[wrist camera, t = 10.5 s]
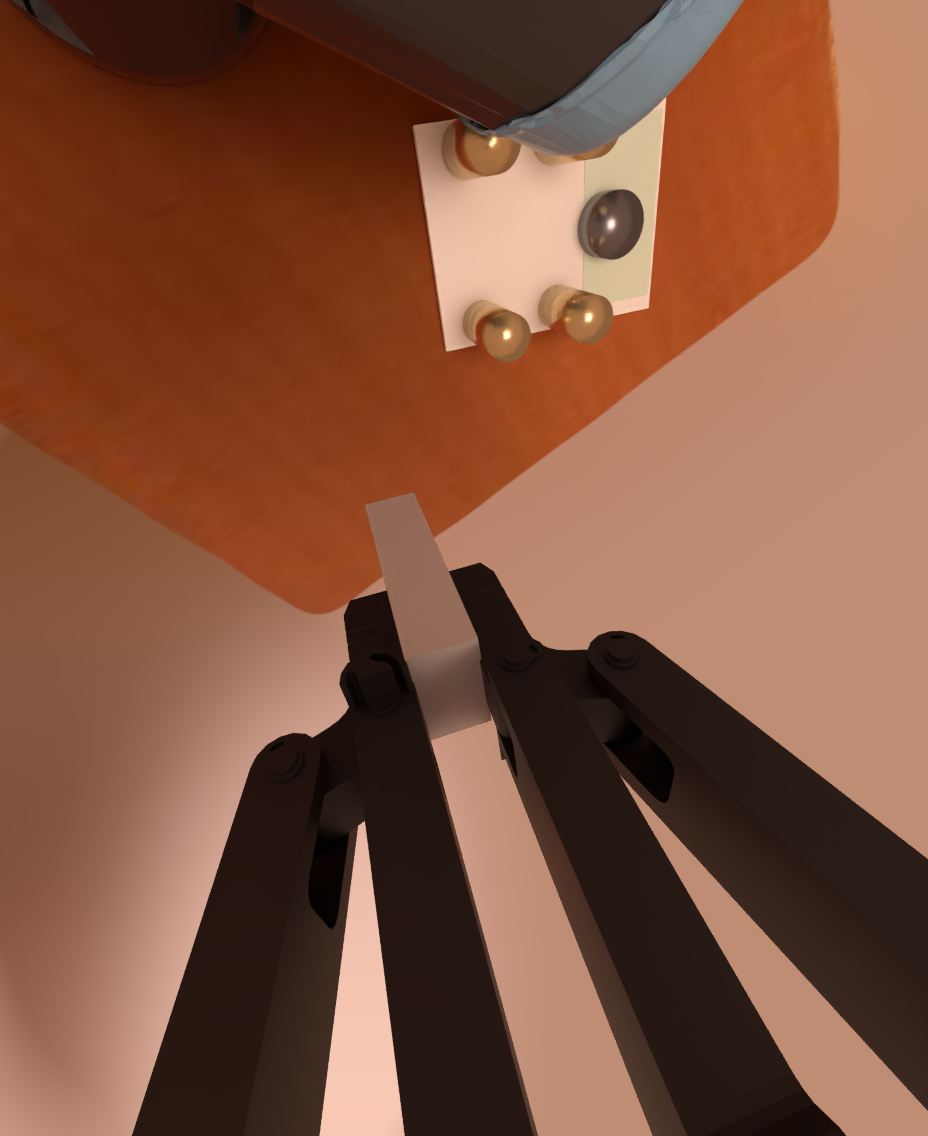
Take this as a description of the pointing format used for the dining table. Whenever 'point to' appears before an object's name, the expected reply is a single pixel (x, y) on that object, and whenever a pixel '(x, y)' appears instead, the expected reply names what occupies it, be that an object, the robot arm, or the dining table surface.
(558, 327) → the cylinder
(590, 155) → the cylinder
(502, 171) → the cylinder
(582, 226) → the dark metal puck
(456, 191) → the board
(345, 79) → the dining table surface
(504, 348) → the cylinder
